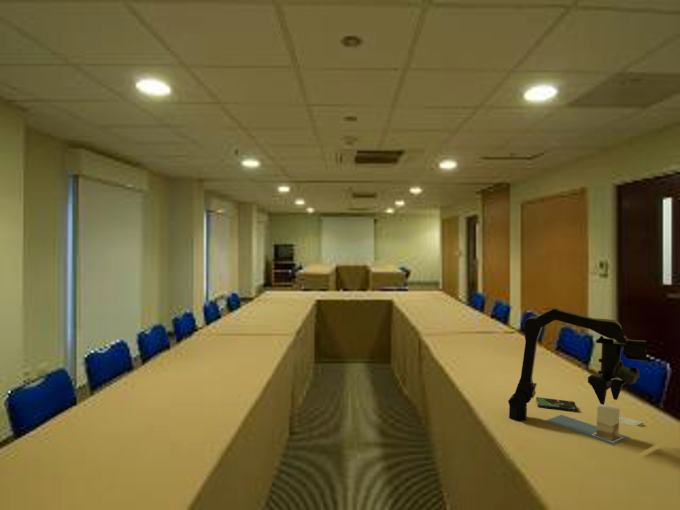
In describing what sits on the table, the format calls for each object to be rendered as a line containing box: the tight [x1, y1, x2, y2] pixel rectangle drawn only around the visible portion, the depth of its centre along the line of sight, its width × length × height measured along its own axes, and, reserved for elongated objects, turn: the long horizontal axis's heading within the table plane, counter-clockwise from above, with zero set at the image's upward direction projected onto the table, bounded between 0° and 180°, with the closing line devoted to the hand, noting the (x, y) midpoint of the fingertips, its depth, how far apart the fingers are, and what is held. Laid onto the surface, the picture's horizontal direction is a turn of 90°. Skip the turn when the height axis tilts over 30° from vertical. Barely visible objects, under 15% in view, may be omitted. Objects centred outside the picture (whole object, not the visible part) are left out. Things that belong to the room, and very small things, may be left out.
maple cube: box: [596, 420, 620, 440], centre depth 165 cm, size 5×5×5 cm
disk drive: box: [535, 397, 579, 413], centre depth 195 cm, size 10×3×15 cm
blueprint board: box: [544, 414, 632, 447], centre depth 171 cm, size 12×25×1 cm, turn 35°
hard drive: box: [619, 415, 644, 427], centre depth 182 cm, size 2×8×12 cm
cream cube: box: [596, 403, 621, 426], centre depth 165 cm, size 5×5×5 cm
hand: (608, 401), depth 165 cm, fingers open, 9 cm apart
